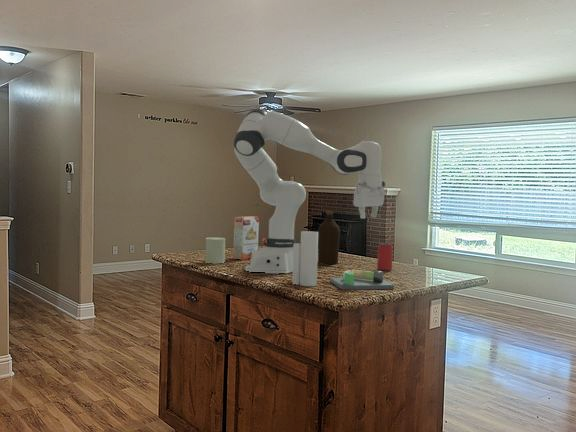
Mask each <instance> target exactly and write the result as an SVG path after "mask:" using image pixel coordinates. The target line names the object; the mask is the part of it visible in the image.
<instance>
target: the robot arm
mask: <svg viewBox="0 0 576 432" xmlns="http://www.w3.org/2000/svg"><path fill="white" fill-rule="evenodd" d="M269 140H271V141H274V142H276V143H278V144H280V145H282V146H284V147H286V148H289V149H292V150H294V151H298V152H301V153H302V152H303V153H307V154H309V155H312V156H314V157H316V158H318V159H320V160H322V161H324V162H325V163H327V164H329V165H330V166H331V168H332V169H333V171H335V173H337V174H339V175H342V176H347V175H350V174H353V173H358V177H357V179H358V181H357V185H356V187H355V189H354V193H353V207H357V208H358V212H359V215H360V216H359V217H360V218H359V219H362V220H363V219H366V218H367V214H366V211H365V210H366V208H367V207H371V209H372V210H371V213H370V217H371V218H377V213H378V210H379V207H380V206H381V207H382V206H383V205H384V202H385V188H386V185H387V184H386V183H387V182H386V181H384V179H382V173H381V172H382V171H381V167H382V157H383V156H382V147H381V145H380V144H379V143H377V142H375V141H371V140H362V141H360V142H359V143H358V144H356V145H353V146H350V147H348V148H345V149H337V148H334V147H332V146H331V145H328V144H326V143H324V142H322V140H321V141H320V140H319V139H318V138H317V137H316V136H315V135H314V134H313V133H312V130H311V129H310V127H308V126H307V125H305V124H304V123H302V122H301V121H300V120H298V119H296V118H293V117H291V116H289V115H286V114H284V113H281V112H278V111H275V110H274V111H273V110H270V111H268V112H267V111H266V110H264V109H262V108H254V109H251V110H250V111H249V112H248V113H247V114H246V116H245V118H244V119H243V120H242V121H241V123H240V125H239V127H238V129H237V132H236V134H235V135H234V140H233V147H234V148H233V150H234V152H233V153H234V154H235V156H236V158H237V159H238V161H239V162H240V164H241V165H242V167H243V168H244V169H245V171H247V173H248V174H249V175H250V177H251V178H252V179H253V180H254V182H255V183H256V184H257V186H258V188H259V196H260V199H261V200H262V201H263V202H264V203H265V204H268V205H270V206H275V210H274V213H273V214H272V216H271V217H270V219H269V220H268V237H267V238H265V237H263V238H262V239H261V242H262V243H263V247H261V248H259V249H258V251H257V252H256V253H255V254H253V256H252V258H251V259H250V263H249V265H246V266H245V268H244V270H245V272H247V271H249V272H248V273H250V272H265V273H264V274H279V273H286V274H289V273H293V245H294V243H296V238H295V225H296V224H295V223H296V216H297V214H298V212H299V209H300V207H301V206H302V204H303V203H304V202H305V200H306V198H307V190H306V188H305V187H304V185H303V184H301V183H299V182H297V181H293V180H283V179H281V178H280V176H279V174H278V166H277V164H276V163H275V162H274V161H273V159H272V158H271V156H269V155H268V153H267V152H266V151H265V149H264V148H263V147H264V146H265V145H266V144H265V142H266V141H269Z"/></svg>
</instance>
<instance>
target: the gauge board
mask: <svg viewBox="0 0 576 432" xmlns="http://www.w3.org/2000/svg"><path fill="white" fill-rule="evenodd" d="M329 282H331V283H332V284H333V285H334V286H336V287H337V288H339V289H340V290H341V291H342V290H343V291H344V290H347V291H348V290H350V291H351V290H352V291H355V290H359V291H360V290H395V284H393V283H392V282H389V281H387V280H385V279H383V282H374V281H371V280H364V279H357V278H354V274H352V269H351V270H350V269H348V270H346V271H343V274H342V277H330V279H329Z"/></svg>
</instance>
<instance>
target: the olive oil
mask: <svg viewBox="0 0 576 432" xmlns="http://www.w3.org/2000/svg"><path fill="white" fill-rule="evenodd" d="M333 213H334V212H333V211H329V210H327V211H326V212H325V220H324V221H322V223H321V224H320V225H319V227H318V229H317V232H318V257H317V264H320V265H331V266H332V265H337V264H339V262H338V261H339V249H340V238H341V230H340V226H339V225H338V224H337V223H336V221H335V220H334V218H333V217H334V214H333Z"/></svg>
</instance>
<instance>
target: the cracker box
mask: <svg viewBox="0 0 576 432" xmlns="http://www.w3.org/2000/svg"><path fill="white" fill-rule="evenodd" d="M233 225H234V227H233V246H232V247H233V250H232V260H236V259H240V260H239V261H244V260H243V259H246V260H249V259H248V258H252V256H253V254H255V253H256V252H257V251H259V233H260V232H259V230H260V229H259V227H260V217H259V216H253V215H251V216H235V217H234V223H233Z"/></svg>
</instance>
